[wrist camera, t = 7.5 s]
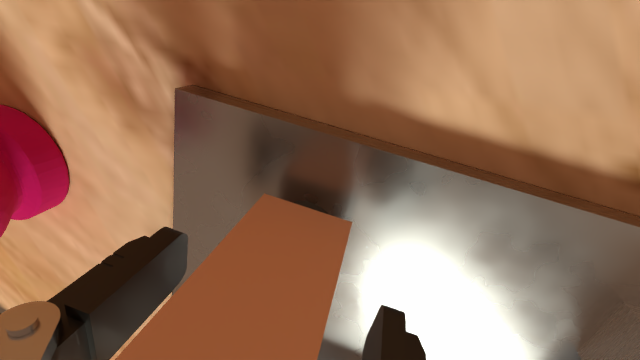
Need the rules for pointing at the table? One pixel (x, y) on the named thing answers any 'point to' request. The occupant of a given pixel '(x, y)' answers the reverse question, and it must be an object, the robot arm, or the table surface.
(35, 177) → the pepper mill
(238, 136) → the hole plate
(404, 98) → the table surface
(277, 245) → the block
